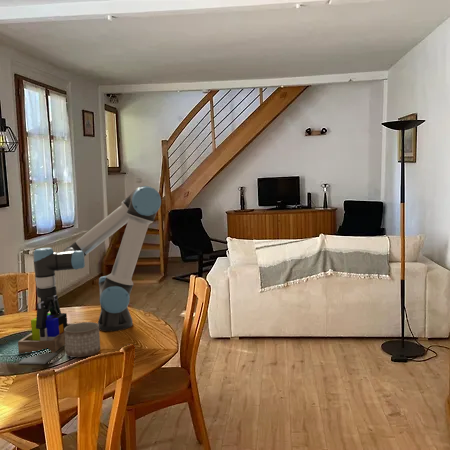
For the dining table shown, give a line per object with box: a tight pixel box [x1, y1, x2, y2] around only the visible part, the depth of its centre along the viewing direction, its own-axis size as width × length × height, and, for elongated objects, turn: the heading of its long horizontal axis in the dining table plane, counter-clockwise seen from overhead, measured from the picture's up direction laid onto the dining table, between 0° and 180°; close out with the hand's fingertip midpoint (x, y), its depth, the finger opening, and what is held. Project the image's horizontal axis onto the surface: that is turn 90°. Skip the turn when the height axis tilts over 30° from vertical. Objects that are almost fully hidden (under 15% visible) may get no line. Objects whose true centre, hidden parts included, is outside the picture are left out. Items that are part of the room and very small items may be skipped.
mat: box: [18, 352, 58, 365], centre depth 186 cm, size 10×10×1 cm
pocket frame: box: [17, 322, 76, 354], centre depth 204 cm, size 23×14×4 cm, turn 173°
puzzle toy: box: [30, 312, 68, 341], centre depth 204 cm, size 10×10×10 cm
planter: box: [64, 321, 101, 358], centre depth 190 cm, size 13×13×10 cm
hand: (50, 339), depth 205 cm, fingers closed on puzzle toy, 10 cm apart
